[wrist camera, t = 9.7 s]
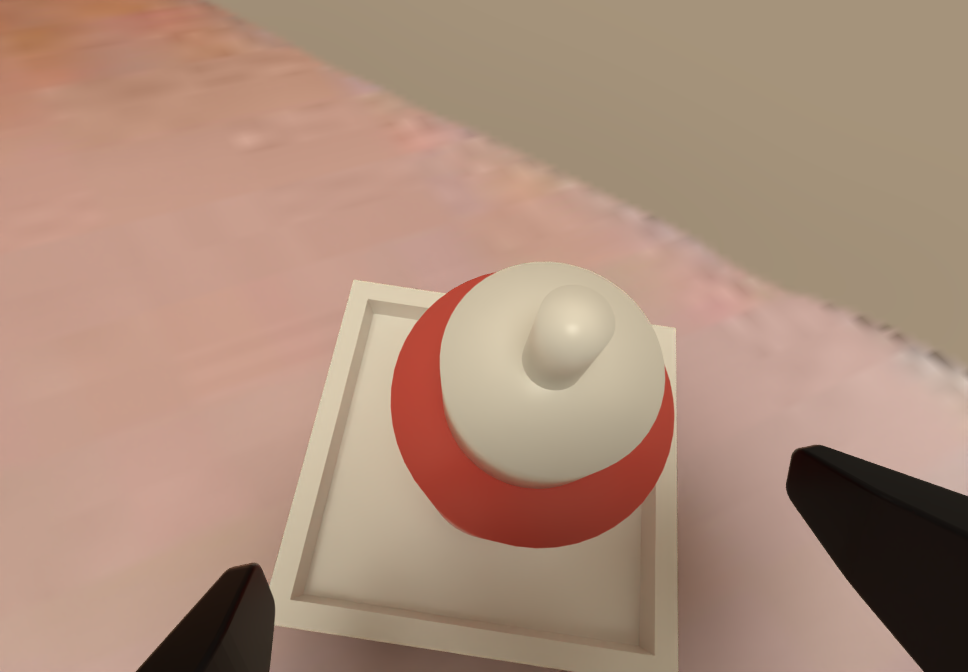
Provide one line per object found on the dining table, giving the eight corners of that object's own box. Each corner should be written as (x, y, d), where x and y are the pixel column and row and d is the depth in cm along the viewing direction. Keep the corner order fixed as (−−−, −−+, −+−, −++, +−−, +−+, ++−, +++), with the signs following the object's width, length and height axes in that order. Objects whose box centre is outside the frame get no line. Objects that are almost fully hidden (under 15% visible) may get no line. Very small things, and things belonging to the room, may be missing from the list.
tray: (654, 348, 23) (676, 328, 21) (650, 667, 18) (678, 688, 16) (364, 304, 23) (353, 279, 21) (284, 611, 18) (259, 623, 16)
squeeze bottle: (573, 419, 21) (801, 205, 7) (543, 558, 19) (782, 629, 5) (448, 382, 21) (437, 109, 7) (404, 514, 19) (276, 469, 5)
